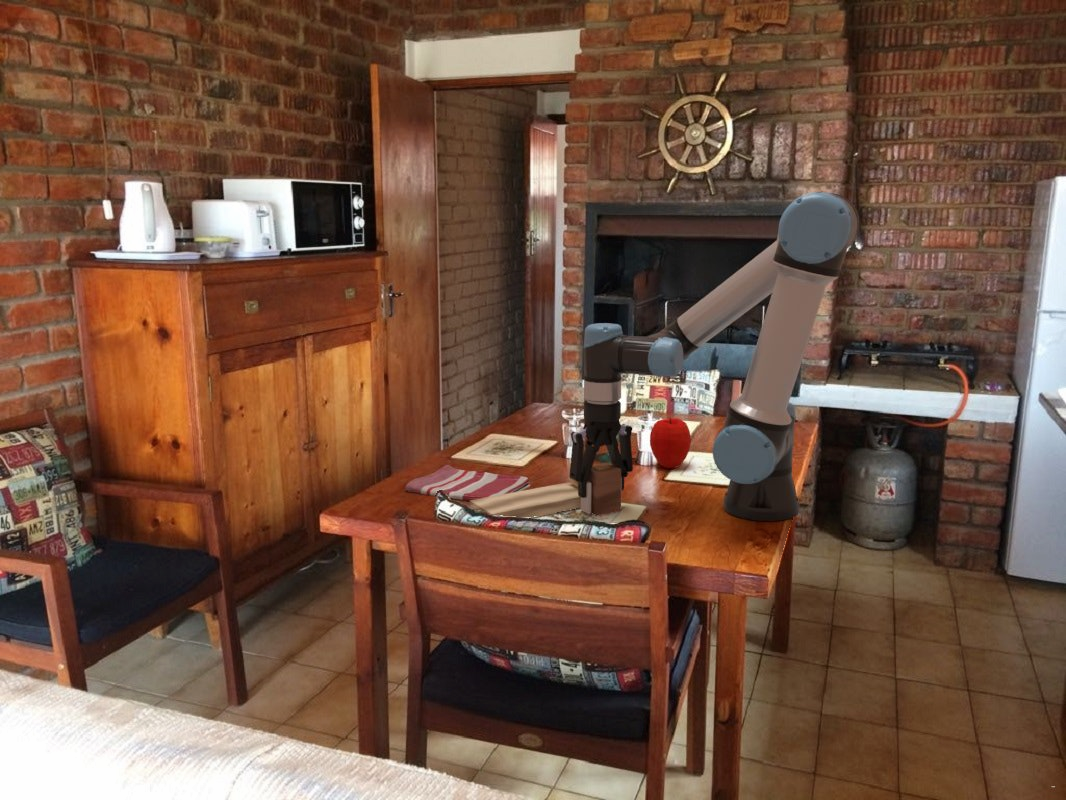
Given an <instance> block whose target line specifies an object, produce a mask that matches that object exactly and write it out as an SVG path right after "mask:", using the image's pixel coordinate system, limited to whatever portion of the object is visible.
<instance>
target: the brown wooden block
mask: <svg viewBox="0 0 1066 800" xmlns="http://www.w3.org/2000/svg"><path fill="white" fill-rule="evenodd" d="M567 478H568V482H570V483H572V484H574V485H576V486H578V482H577V481H575V480H573V479H571V478H570V477H569V476H567ZM588 482H591V513H590V514H592V513H593V514H592V515H594V514H595V515H594V516H596V517H597V515H598V516H603V515H607V514H608V515H609V514H612V513H616V512H621V511H622V490H621V469H620V468H618V467H615V466H613V465H612V464H611V463H610V464H609V463H601V464H596V465H594V464H593V466H592V469H591V473H590V476H589V479H588ZM602 514H603V515H602Z"/></svg>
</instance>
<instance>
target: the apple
mask: <svg viewBox="0 0 1066 800" xmlns="http://www.w3.org/2000/svg"><path fill="white" fill-rule="evenodd" d="M691 443H692V436H691V431H690V429H689V426H688V424H687V422H686V421H684V420H682V419H681V418H678V417H677V418H676V417H675V418H671V417H669V418H665V419H664V418H663V419H660V420H657V421H656V422H655V423H654V424H653V426H652V428H651V430H650V434H649V446H650V450H651V452H652V455H653V457H654V458H655V460H656V461H657V463H658V464H659V465H660V466H662V467H664V468H665V469H675V468H678V467H680V466H681V465H682V464H683V463H684V462H685V460H686V459H687V456H688V454H689V452H690V448H691Z"/></svg>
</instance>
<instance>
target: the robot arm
mask: <svg viewBox="0 0 1066 800" xmlns="http://www.w3.org/2000/svg"><path fill="white" fill-rule="evenodd" d="M783 211H784V212H783V213H782V215H781V217H780V219H779V223H778V231H777V232H778V233H777V238H776V240H775V241H774V242H773V243H772V244H771V245H769V246H768V247H766V248H764V250H763V251H761V252H760V253H759V254H757V255H756V256H755V257H754V258H752V260H750V261H749V262H747V263H746V264H744V265H743V267H742V266H741V268H740V269H738V270H737V271H736V272H735V273H733V274H732V275H731V276H729V277H728V278H727V279H725V280H724V281H723V282H722V283H721V284H719V285H718V286H717V287H715V289H713V290H711V291H710V292H709V293H708V294H707V295H705V296H704V297H703V298H701V299H700V300H699V301H698V302H696V303H695V304H694V305H693V306H691V307H690V308H689V309H688V310H686V311H685V312H684V313H682V314H681V315H680V316H678V317H677V318H676V319H674V320H673V321H672V322H671V323H670V324H668V325H667V326H665V327H664V328H662V330H660V331H659V332H656V333H654V334H651V335H648V336H644V335H643V336H641V335H640V336H639V335H636V336H635V335H626V334H623V333H624V332H623V328H622V326H621V324H618V323H609V322H608V323H607V322H604V323H603V322H602V323H601V322H598V323H591V324H588V325H587V326H586V327H585V329H584V338H583V339H584V340H583V341H584V342H583V399H584V402H583V419H584V424H583V427H582V429H581V430H579V431H577V432H576V431H571V432H570V437H571V442H572V446H571V456H570V465H569V474H568V475H569V476H568V477H570V478H571V479H573V480H575V481H577V482H578V495H579V497H581V508H580V511H581V512H583V513H585V514H587V515H590V514H592V513H591V482H588V479H589V476H590V473H591V469H592V466H594V463H595V460H596V457H597V453H598V452H599V451H600V448H601V447H603V446H605V447H606V448H607V452H608V455H609V459H610V462H611V465H613V466H615V467H618V468H620V469H621V491H624V490H625V478H627V477H628V475H629V473H631V472H633V470H634V467H633V454H632V453H633V452H632V441H631V438H632V431H633V427H632V426H630V425H627V424H625V423H622V424H621V422H620V419H621V414H622V413H621V412H622V409H621V407H622V404H621V403H622V402H620V399H621V398H622V374H631V375H638V376H640V375H642V376H650V377H651V376H653V377H658V378H663V377H669V378H670V377H676V376H677V375H678V374H679V373H680V371H681V369H682V366H683V362H684V361H685V360H687V359H688V358H689V357H690V355H692V354H693V353H695V351H697V350H698V349H699V348H700V347H702V346H703V345H704V344H705V343H707V342H709V341H710V340H711V339H712V338H714V337H715V336H716V335H718V334H719V333H720V332H722V331H724V330H725V329H726V328H728V326H730V325H731V324H733V323H734V322H735V321H736V320H738V319H739V318H741V317H743V315H744V314H746V313H747V312H748V311H750V310H751V309H752V308H754V307H755V306H757V305H759V303H761V302H762V301H764V300H765V299H766V298H767V297H768V296H770V295H771V296H770V299H769V303H768V305H767V308H766V313H765V316H764V319H763V323H762V325H761V329H760V331H759V335H758V339H757V341H756V346H755V349H754V352H753V354H752V355H753V356H752V359H751V362H750V365H749V369H748V372H747V375H746V379H745V381H744V385H743V388H742V391H741V395H740V396H739V397H736V399H733V400H731V402H730V404H729V406H728V409H727V412H726V416H725V419H724V421H723V426H722V429H721V430H720V432H718V433H717V436H715V439H714V442H713V444H712V457H713V459H712V460H714V464H715V466H716V467H717V469H718V470H719V472H720V473H721V474H722V475H723V476H725V478H727V479H729V483H728V486H727V490H726V492H725V493H724V496H723V509H724V510H725V511H726V512H727V513H728V514H730V515H732V516H734V517H735V516H736V517H737V518H741V519H744V520H752V521H760V522H777V521H785V520H790V519H792V518H795V517H796V516H798V514H799V513H800V499H799V497H798V496H797V490H796V486H795V482H794V479H793V462H794V461H793V458H794V442H795V441H794V440H795V439H794V438H795V437H794V436H795V421H796V418H797V417H796V409H795V405H794V404H793V403H791V402H790V399H791V397H792V393H793V390H794V388H795V384H796V381H797V378H798V376H799V375H798V374H799V371H800V368H801V366H802V362H803V360H804V355H805V354H806V349H807V347H808V343H809V341H810V337H811V334H812V331H813V327H814V324H815V322H816V319H817V316H818V311H819V309H820V306H821V302H822V299H823V297H824V295H825V294H824V293H825V290H826V287H827V286H828V285H829V284H830V283H832V282H833V281H835V280H838V278H839V276H840V273H841V269H842V267H843V264H844V260H845V258H846V255H847V251H848V249H849V248H850V247H851V245H852V244H853V243H854V242H855V240H856V238H857V235H858V233H859V229H860V218H859V214H858V211H857V209H856V207H855V206H854V204H853V203H852V202H851V201H850V200H849V199H848V198H846V197H844V196H842V195H840V194H837V193H835V192H834V193H832V192H823V191H813V192H809V193H805V194H803V195H801V196H799V197H797V198H796V199H794V200H793V201H792V202H791V203H790V204H789V205H788V206H787V207H786V209H785V210H783ZM618 434H619V435H618ZM617 436H618V439H619V441H618V439H617ZM584 442H585V443H584Z"/></svg>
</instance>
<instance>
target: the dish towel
mask: <svg viewBox="0 0 1066 800" xmlns="http://www.w3.org/2000/svg"><path fill="white" fill-rule="evenodd" d="M530 483H531V481H530V478H529V477H526V476H522V475H518V474H517V475H516V474H508V473H495V474H494V473H491V472H486V471H479V470H471V471H468V470H463V469H458V468H454V467H453V466H452V465H450V464H445V465H443V466H442V467H441V468H439V469H438V470H436V471H435V472H433V473H430V474H427V475H425V476H420V477H415V478H414V479H411V480H410V481H408V482H407V483H406V486H405V491H406V492H407V491H408V493H414V494H420V495H427V496H431V497H436V496H435V495H436V493H437V491H439V490H443V491H445V492H446V493H447V494H448V496H449V497H450V498H449V499H451V498H452V499H453V500H460V501H465V502H469V503H470V500H475V499H480V498H486V497H491V496H497V495H502V494H508V493H513V492H518V491H524V490H526V489H528V488H529V487H531V484H530ZM452 499H451V500H452Z"/></svg>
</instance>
